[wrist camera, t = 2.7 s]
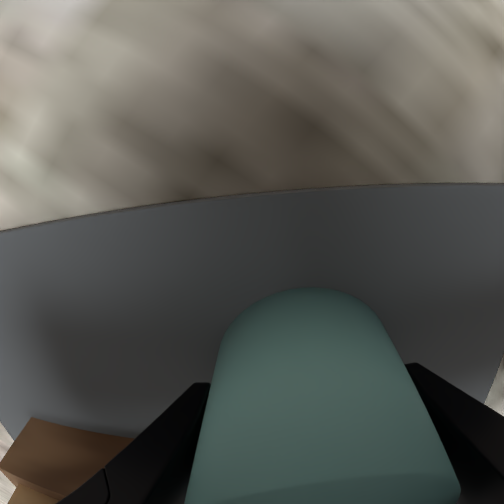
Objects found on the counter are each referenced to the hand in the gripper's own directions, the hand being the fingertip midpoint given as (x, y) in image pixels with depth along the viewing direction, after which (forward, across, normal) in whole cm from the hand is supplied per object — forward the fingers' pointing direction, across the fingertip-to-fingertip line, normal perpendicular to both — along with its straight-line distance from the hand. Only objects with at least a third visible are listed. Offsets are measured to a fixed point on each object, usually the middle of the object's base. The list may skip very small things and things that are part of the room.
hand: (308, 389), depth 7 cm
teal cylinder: (+1, 0, 0) cm, 1 cm away
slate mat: (+1, +4, +4) cm, 5 cm away
